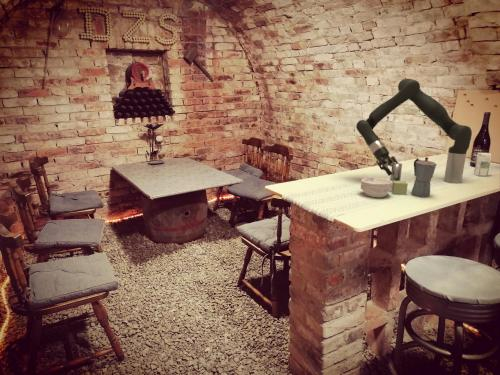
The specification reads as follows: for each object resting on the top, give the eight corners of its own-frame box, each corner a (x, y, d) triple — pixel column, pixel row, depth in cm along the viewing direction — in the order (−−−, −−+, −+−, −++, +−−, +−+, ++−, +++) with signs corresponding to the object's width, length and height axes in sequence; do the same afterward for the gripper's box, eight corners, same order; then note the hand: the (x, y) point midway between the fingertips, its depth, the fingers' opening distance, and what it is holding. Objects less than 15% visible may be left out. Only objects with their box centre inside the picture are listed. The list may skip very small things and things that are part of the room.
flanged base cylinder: (387, 187, 198) (390, 162, 194) (398, 187, 197) (401, 163, 193) (389, 190, 192) (392, 164, 188) (401, 190, 191) (404, 165, 187)
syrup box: (482, 174, 229) (486, 152, 225) (487, 176, 223) (492, 154, 220) (473, 174, 230) (477, 152, 226) (478, 176, 224) (482, 153, 220)
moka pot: (422, 199, 175) (428, 160, 170) (401, 191, 189) (406, 154, 184) (438, 198, 178) (444, 159, 172) (416, 190, 192) (421, 153, 186)
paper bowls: (366, 189, 193) (368, 175, 191) (395, 194, 184) (396, 179, 182) (355, 195, 182) (356, 180, 179) (384, 201, 172) (386, 185, 170)
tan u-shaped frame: (382, 185, 200) (383, 175, 198) (401, 186, 199) (402, 176, 197) (389, 194, 184) (390, 182, 183) (409, 195, 183) (410, 183, 181)
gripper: (375, 147, 191) (392, 171, 185) (391, 145, 199) (407, 168, 193) (366, 155, 197) (382, 179, 191) (381, 152, 205) (397, 176, 199)
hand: (395, 173), depth 192 cm, fingers open, 8 cm apart
